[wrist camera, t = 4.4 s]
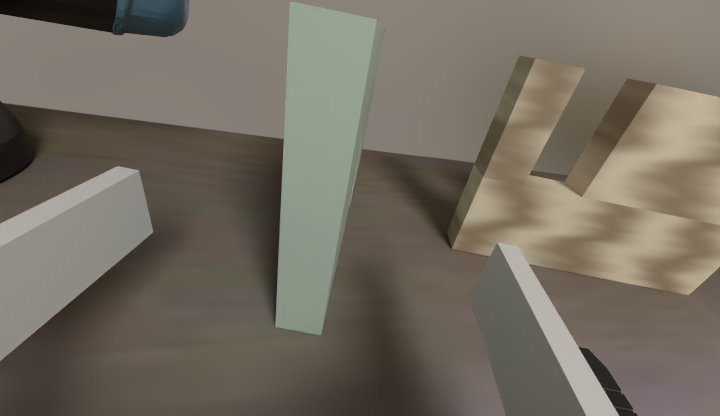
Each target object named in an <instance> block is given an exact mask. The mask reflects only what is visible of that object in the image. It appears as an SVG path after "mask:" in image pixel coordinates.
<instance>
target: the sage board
mask: <svg viewBox="0 0 720 416" xmlns="http://www.w3.org/2000/svg"><path fill="white" fill-rule="evenodd" d="M384 32H385V28H384V27H383V26H382V25H381V24H380V23H379V21H378V20H376V19H371V18H366V17H361V16H357V15H353V14H348V13H343V12H338V11H334V10H329V9H324V8H320V7H315V6H310V5H305V4H301V3H296V2H291V1H290V16H289V38H288V60H287V81H286V104H285V125H284V147H283V169H282V191H281V213H280V235H279V258H278V280H277V302H276V324H275V327H278V328H284V329H289V330H294V331H300V332H305V333H310V334H315V335H321V334H322V329H323V325H324V320H325V316H326V311H327V307H328V302H329V298H330V293H331V289H332V284H333V280H334V275H335V271H336V266H337V262H338V257H339V253H340V248H341V244H342V239H343V235H344V230H345V224H346V219H347V214H348V208H349V207H350V203H351V199H352V194H353V190H354V185H355V181H356V176H357V172H358V167H359V162H360V157H361V152H362V146H363V141H364V136H365V131H366V126H367V120H368V115H369V110H370V104H371V99H372V94H373V89H374V84H375V79H376V73H377V68H378V63H379V58H380V52H381V48H382V42H383V37H384Z"/></svg>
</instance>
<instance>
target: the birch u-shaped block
mask: <svg viewBox="0 0 720 416" xmlns="http://www.w3.org/2000/svg"><path fill="white" fill-rule="evenodd" d="M584 70H585V69H583V68H578V67H573V66H568V65H564V64H559V63H554V62H550V61H545V60H540V59H535V58H530V57H524V56H519V58H518V60H517V63H516V65H515V67H514V70H513V72H512V75H511V77H510V79H509V82H508V84H507V87H506V89H505V92H504V94H503V96H502V99H501V101H500V104H499V107H498V109H497V111H496V114H495V116H494V118H493V121H492V123H491V126H490V128H489V130H488V133H487V135H486V138H485V140H484V142H483V145H482V147H481V150H480V152H479V155H478V157H477V160H476V162H475V164H474V167H473V169H472V171H471V174H470V176H469V179H468V181H467V184H466V186H465V188H464V191H463V193H462V196H461V198H460V200H459V203H458V205H457V208H456V210H455V213H454V215H453V217H452V220H451V222H450V225H449V227H448V230H447V235H448V238H449V242H450V245H451V249H454V250H460V251H465V252H470V253H475V254H480V255H485V256H490V255H491V253H492V251H493V250H494V248H495V246H496V244H497V242H498V243H503V244H508V245H513V246H518V248H519V249H520V251H521V253H522V254H523V256H524V258H525V259H526V261H527V263H528V264H531V265H536V266H541V267H546V268H551V269H556V270H561V271H566V272H572V273H577V274H582V275H587V276H592V277H597V278H602V279H607V280H612V281H617V282H622V283H628V284H633V285H638V286H643V287H648V288H653V289H658V290H663V291H668V292H673V293H678V294H684V295H689V294H690V293H692V292H693V291H694V290H695V289H696V288H697V287H698V286H699V285H700V284H701V283H703V282H704V281H705V280H706V279H707V278H708V277H709V276H710V275H711V274H712V273H714V272H715V271H716V270H717V269H718V268H719V267H720V97H715V96H710V95H706V94H701V93H696V92H691V91H687V90H682V89H677V88H672V87H668V86H663V85H658V84H653V83H648V82H643V81H638V80H632V79H627V80H626V81H625V83H624V85H623V86H622V88H621V90H620V91H619V93H618V95H617V96H616V98H615V100H614V101H613V103H612V104H611V106H610V108H609V109H608V111H607V113H606V114H605V116H604V118H603V119H602V121H601V123H600V124H599V126H598V128H597V129H596V131H595V132H594V134H593V136H592V137H591V139H590V141H589V142H588V144H587V146H586V147H585V149H584V151H583V152H582V154H581V156H580V157H579V159H578V160H577V162H576V164H575V166H574V167H573V169H572V170H571V172H570V174H569V175H568V177H567V179H566V180H565V182H560V181H555V180H551V179H546V178H541V177H536V176H531V175H529V174H530V173H531V171H532V169H533V167H534V165H535V163H536V161H537V159H538V157H539V155H540V154H541V152H542V150H543V148H544V146H545V144H546V142H547V140H548V138H549V137H550V135H551V133H552V131H553V129H554V127H555V125H556V123H557V121H558V120H559V118H560V116H561V114H562V112H563V110H564V108H565V106H566V104H567V103H568V101H569V99H570V97H571V95H572V93H573V91H574V89H575V87H576V86H577V84H578V82H579V80H580V78H581V76H582V74H583V72H584Z"/></svg>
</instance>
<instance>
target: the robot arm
mask: <svg viewBox="0 0 720 416" xmlns="http://www.w3.org/2000/svg"><path fill="white" fill-rule="evenodd" d="M188 12H189V0H0V14H4V15H10V16H16V17H22V18H28V19H34V20H40V21H46V22H52V23H58V24H64V25H70V26H76V27H82V28H87V29H93V30H99V31H106V32H111V33H113V34H115V35H123V34H124V33H131V34H140V35H150V36H160V37H168V36H173V35H175V34H177V33H178V32H180V31H181V30H183V28H184V27H185V25H186V23H187V19H188ZM32 157H33V149H32V147H31V144H30V142H29V140H28V137H27V135H26V133H25V130H24V128H23V126H22V125H21V123H20V122H19V121H18V120H17V119H16V117H15V116H14V115H13V114H12V113H11V112H10V111H9V110H8V109H7V108H6V106H5V105H4V104H3V103H2V102H1V101H0V181H2V180H4V179H6V178H8V177H10V176H11V175H13V174H15V173H16V172H18V171H19V170H21V169H22V168H24V167H25V166H26V165H27V164H28V163H29V162H30V161H31V159H32ZM152 233H153V229H152V224H151V220H150V216H149V212H148V207H147V203H146V199H145V194H144V190H143V186H142V182H141V177H140V173H139V170H134V169H129V168H124V167H119V166H117V167H115V168H113V169H111V170H109V171H107V172H105V173H103V174H101V175H99V176H97V177H95V178H93V179H91V180H88V181H86V182H84V183H82V184H80V185H78V186H76V187H74V188H72V189H70V190H68V191H66V192H64V193H62V194H60V195H58V196H56V197H54V198H52V199H50V200H48V201H46V202H44V203H41V204H39V205H37V206H35V207H33V208H31V209H29V210H27V211H25V212H23V213H21V214H19V215H17V216H15V217H13V218H11V219H9V220H7V221H5V222H3V223H1V224H0V361H1V360H2V359H3V358H4V357H6V356H7V355H8V354H9V353H10V352H12V351H13V350H14V349H15V348H16V347H18V346H19V345H20V344H21V343H22V342H23V341H25V340H26V339H27V338H28V337H29V336H31V335H32V334H33V333H34V332H35V331H37V330H38V329H39V328H40V327H41V326H42V325H44V324H45V323H46V322H47V321H48V320H50V319H51V318H52V317H53V316H54V315H56V314H57V313H58V312H59V311H60V310H61V309H63V308H64V307H65V306H66V305H67V304H69V303H70V302H71V301H72V300H73V299H75V298H76V297H77V296H78V295H79V294H80V293H82V292H83V291H84V290H85V289H86V288H88V287H89V286H90V285H91V284H92V283H94V282H95V281H96V280H97V279H98V278H99V277H101V276H102V275H103V274H104V273H105V272H107V271H108V270H109V269H110V268H111V267H113V266H114V265H115V264H116V263H117V262H118V261H120V260H121V259H122V258H123V257H124V256H126V255H127V254H128V253H129V252H130V251H132V250H133V249H134V248H135V247H136V246H137V245H139V244H140V243H141V242H142V241H143V240H145V239H146V238H147V237H148V236H149V235H151V234H152ZM469 295H470V298H471V301H472V305H473V308H474V311H475V315H476V318H477V321H478V324H479V328H480V331H481V334H482V338H483V341H484V344H485V347H486V351H487V354H488V357H489V361H490V364H491V367H492V370H493V374H494V377H495V380H496V384H497V387H498V390H499V394H500V397H501V400H502V403H503V407H504V410H505V413H506V416H637V414H636V413H633V411H632V409H633V408H632V406H631V405H630V403H629V402H628V400H627V399H626V397H625V396H624V394H621V389H620V388H619V386H618V385H617V383H616V382H615V380H614V379H613V377H612V375H611V374H610V372H609V371H608V369H607V368H606V367H605V366H604V365H603V364H602V363H601V362H600V361H599V360H598V359H597V358H596V357H595V356H594V355H593V353H592V352H591V351H590V350H589V349H586V348H581V347H578V346H577V344H576V343H575V341H574V339H573V338H572V336H571V334H570V333H569V331H568V329H567V328H566V326H565V324H564V323H563V321H562V319H561V318H560V316H559V314H558V313H557V311H556V309H555V308H554V306H553V304H552V303H551V301H550V299H549V298H548V296H547V294H546V293H545V291H544V289H543V288H542V286H541V284H540V283H539V281H538V279H537V278H536V276H535V274H534V273H533V271H532V269H531V268H530V266H529V264H528V263H527V261H526V259H525V258H524V256H523V254H522V253H521V251H520V249H519V248H518V246H513V245H508V244H503V243H498V242H497V244H496V246H495V248H494V250H493V251H492V253H491V255H490V257H489V259H488V261H487V263H486V264H485V266H484V268H483V270H482V272H481V274H480V276H479V277H478V279H477V281H476V283H475V285H474V287H473V289H472V290H471V292H470V294H469Z"/></svg>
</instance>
